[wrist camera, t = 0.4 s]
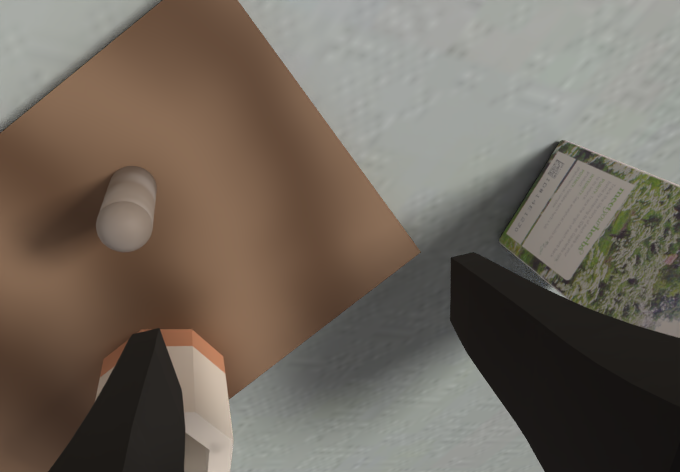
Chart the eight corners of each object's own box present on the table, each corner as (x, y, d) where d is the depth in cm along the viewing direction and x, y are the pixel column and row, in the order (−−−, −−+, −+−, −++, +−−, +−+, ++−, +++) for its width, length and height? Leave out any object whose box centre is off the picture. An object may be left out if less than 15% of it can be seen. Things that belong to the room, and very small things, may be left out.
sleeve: (161, 438, 24) (157, 536, 20) (77, 379, 22) (52, 476, 18) (243, 374, 24) (258, 459, 20) (168, 308, 22) (165, 389, 17)
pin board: (80, 498, 26) (58, 613, 21) (-232, 322, 19) (-366, 433, 14) (412, 242, 25) (467, 303, 20) (208, -38, 18) (218, -45, 13)
